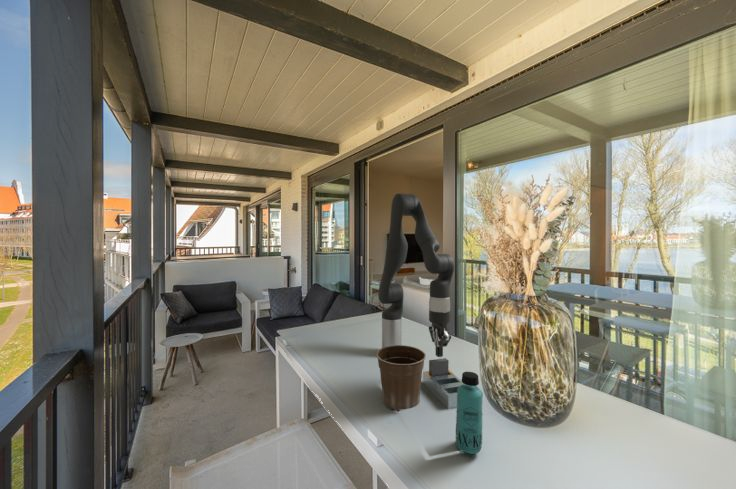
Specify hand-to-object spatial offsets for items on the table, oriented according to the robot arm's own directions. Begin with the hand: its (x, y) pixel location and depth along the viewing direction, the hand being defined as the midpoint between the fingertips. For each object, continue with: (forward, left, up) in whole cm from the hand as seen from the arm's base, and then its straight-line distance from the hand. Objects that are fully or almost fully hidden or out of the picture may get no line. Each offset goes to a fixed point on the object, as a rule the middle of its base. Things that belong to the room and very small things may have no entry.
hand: (439, 356), depth 110 cm
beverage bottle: (+32, -9, -12) cm, 35 cm away
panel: (0, 0, -11) cm, 11 cm away
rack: (+6, 0, -12) cm, 13 cm away
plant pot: (+5, -17, -12) cm, 21 cm away
